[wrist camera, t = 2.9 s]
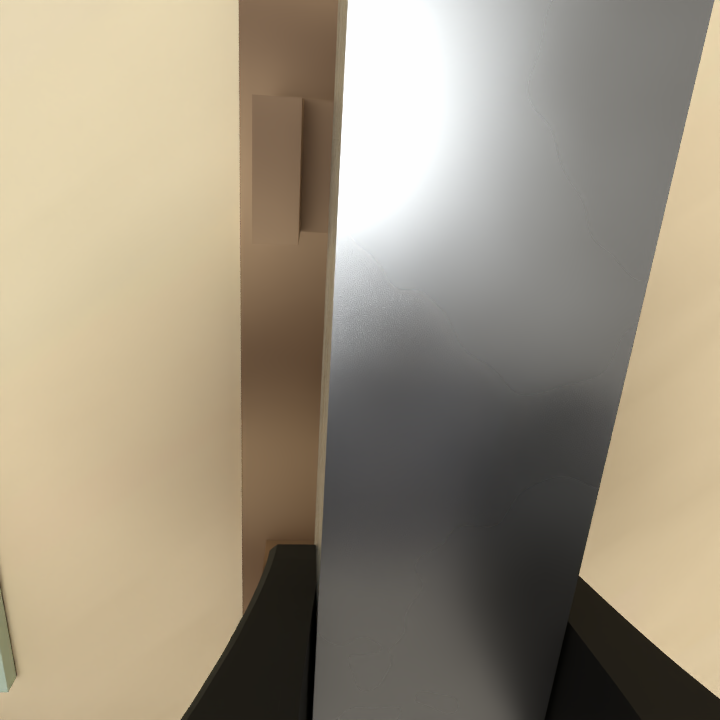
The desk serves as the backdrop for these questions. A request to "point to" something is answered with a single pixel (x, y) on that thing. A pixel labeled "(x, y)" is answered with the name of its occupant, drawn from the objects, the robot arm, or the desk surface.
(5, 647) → the mat
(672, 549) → the desk surface
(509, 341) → the rail
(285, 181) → the stand
